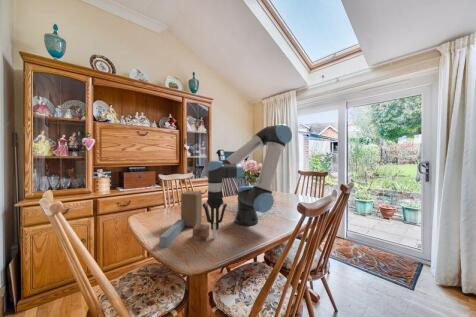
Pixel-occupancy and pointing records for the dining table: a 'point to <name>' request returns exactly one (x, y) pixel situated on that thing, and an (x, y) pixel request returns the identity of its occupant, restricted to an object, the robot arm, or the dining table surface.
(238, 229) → the dining table surface
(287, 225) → the dining table surface
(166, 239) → the bar
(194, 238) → the walnut block
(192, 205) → the wooden block
